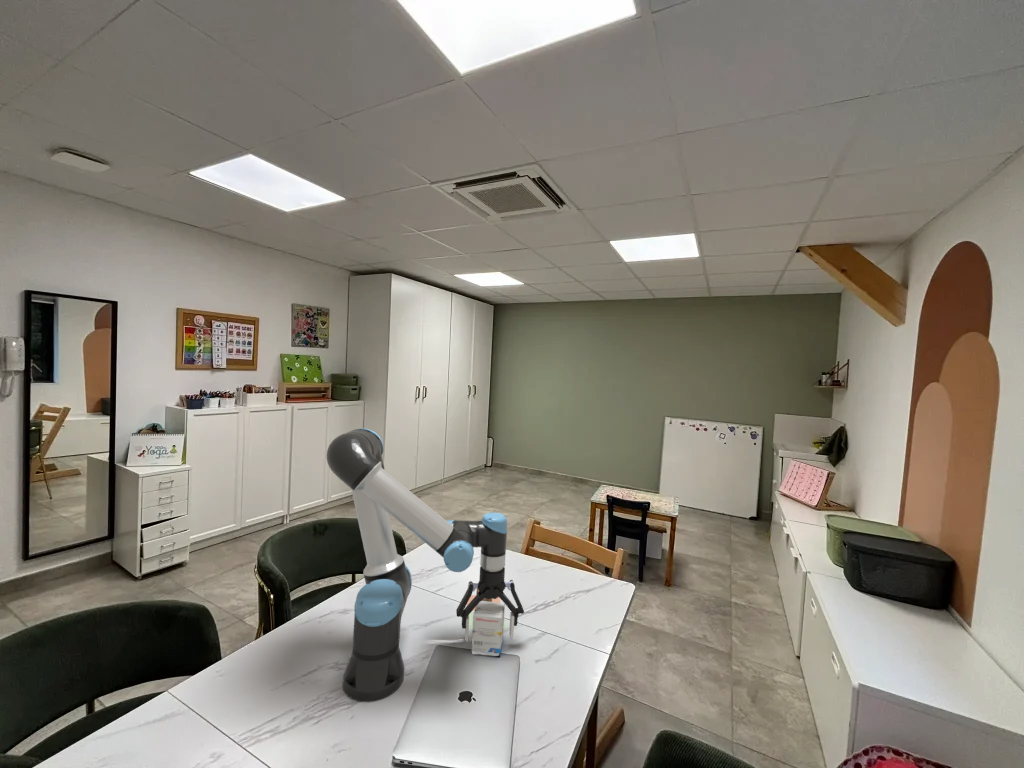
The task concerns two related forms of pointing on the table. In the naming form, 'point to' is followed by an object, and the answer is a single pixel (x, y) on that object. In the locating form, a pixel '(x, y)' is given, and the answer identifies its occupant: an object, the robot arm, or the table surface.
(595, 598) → the table surface
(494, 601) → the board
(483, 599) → the walnut block
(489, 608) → the ink box
